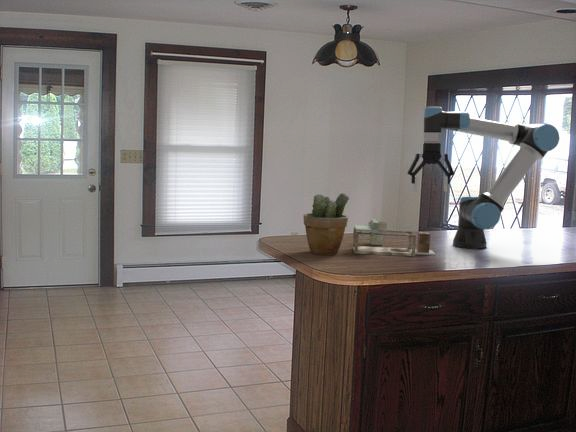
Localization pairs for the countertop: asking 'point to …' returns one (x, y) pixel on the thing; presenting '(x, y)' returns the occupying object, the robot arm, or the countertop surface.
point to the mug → (376, 238)
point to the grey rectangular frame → (385, 250)
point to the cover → (368, 227)
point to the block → (423, 242)
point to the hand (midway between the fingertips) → (430, 191)
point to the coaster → (424, 252)
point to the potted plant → (326, 224)
